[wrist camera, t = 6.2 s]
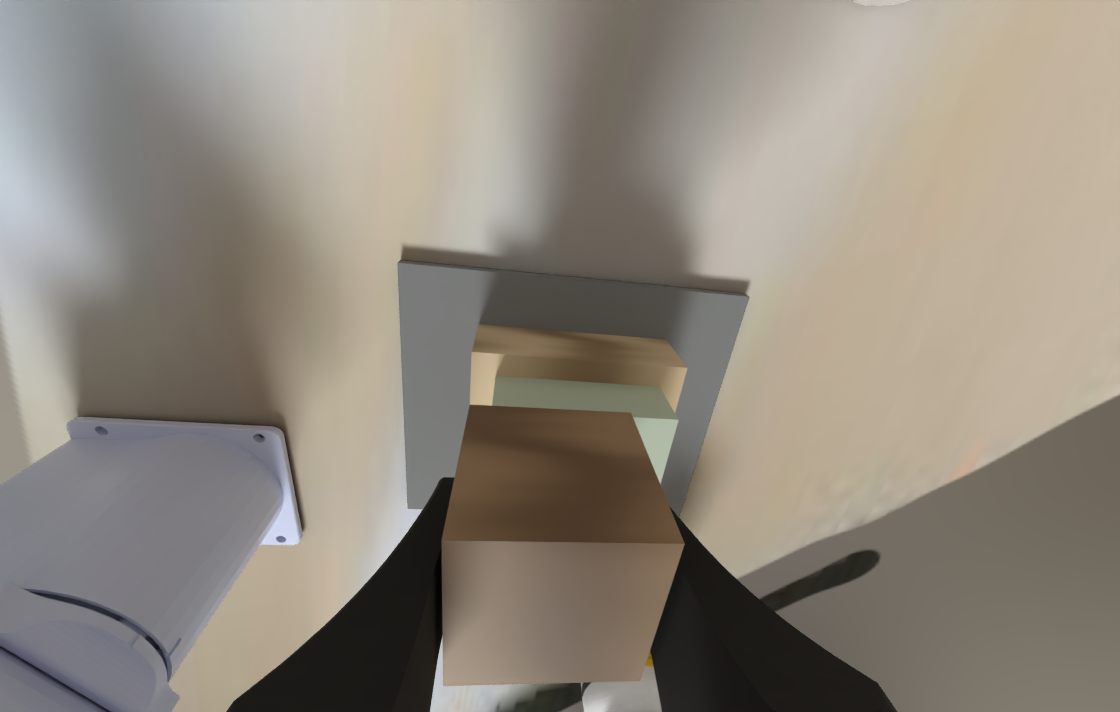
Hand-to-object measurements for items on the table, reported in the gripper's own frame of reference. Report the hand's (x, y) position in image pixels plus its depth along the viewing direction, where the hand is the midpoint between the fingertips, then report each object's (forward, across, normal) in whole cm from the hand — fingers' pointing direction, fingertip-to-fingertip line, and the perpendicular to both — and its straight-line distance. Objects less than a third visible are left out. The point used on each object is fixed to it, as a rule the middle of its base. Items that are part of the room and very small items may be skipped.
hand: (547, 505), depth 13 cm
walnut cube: (+1, 0, 0) cm, 1 cm away
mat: (+9, -2, +2) cm, 10 cm away
